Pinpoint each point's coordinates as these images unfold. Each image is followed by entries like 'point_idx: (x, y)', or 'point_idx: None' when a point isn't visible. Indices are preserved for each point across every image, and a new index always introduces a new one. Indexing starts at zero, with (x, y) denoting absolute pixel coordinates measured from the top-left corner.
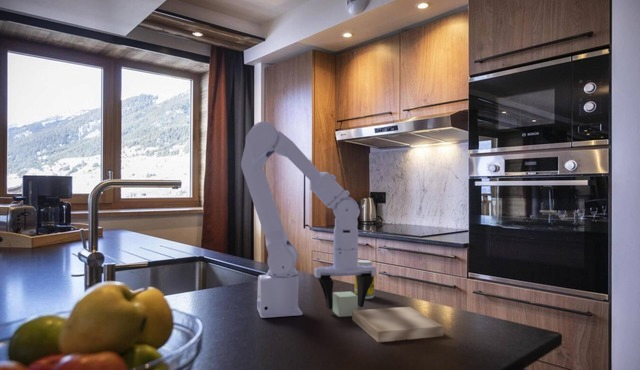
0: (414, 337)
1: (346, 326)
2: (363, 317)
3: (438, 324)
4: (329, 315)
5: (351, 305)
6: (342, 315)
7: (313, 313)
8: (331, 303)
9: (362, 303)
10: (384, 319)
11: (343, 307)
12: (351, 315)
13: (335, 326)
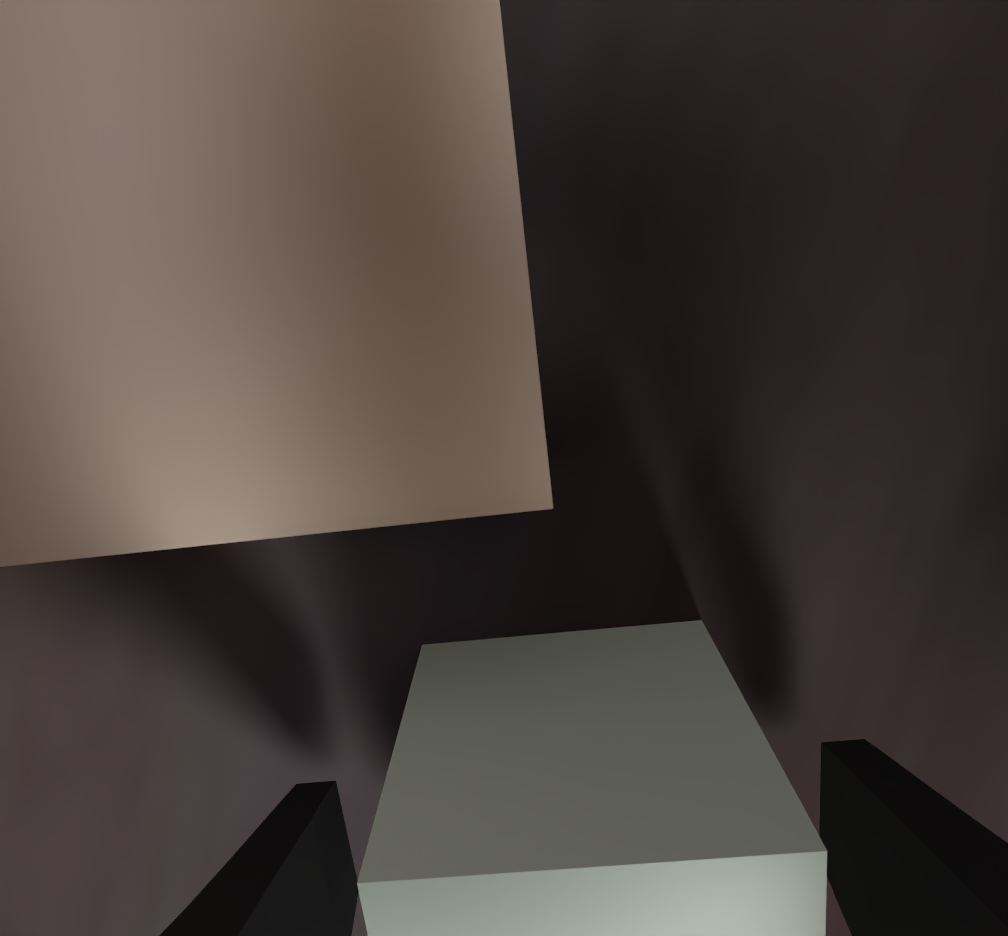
0: None
1: (724, 152)
2: (445, 18)
3: None
4: (813, 686)
5: (510, 732)
6: (647, 632)
7: (1001, 790)
8: (890, 794)
9: (288, 815)
10: None
11: (656, 704)
12: (509, 640)
13: (898, 175)
